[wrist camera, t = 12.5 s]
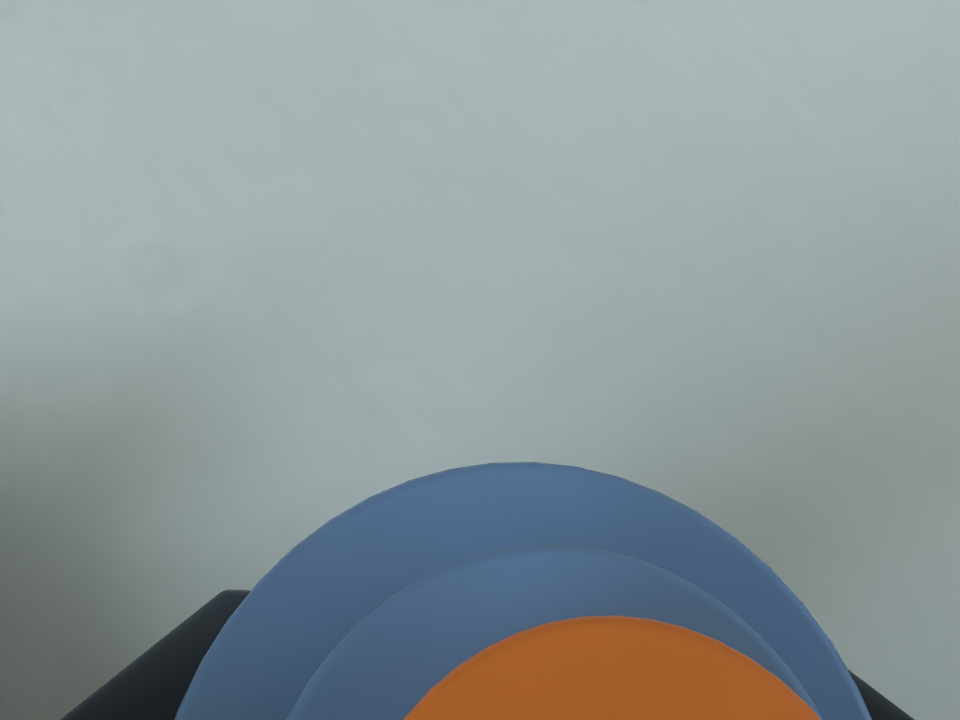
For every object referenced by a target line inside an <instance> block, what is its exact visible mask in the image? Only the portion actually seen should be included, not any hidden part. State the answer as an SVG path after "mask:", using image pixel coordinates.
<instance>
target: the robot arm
mask: <svg viewBox="0 0 960 720" xmlns="http://www.w3.org/2000/svg"><path fill="white" fill-rule="evenodd" d="M250 592H251V591H248V590H225V591H223V592H221V593H219V594H218V595H217V596H215V597H214V598H213V599H212V600H210V601H209V602H208V603H207V604H205V605H204V606H203V607H202V608H200V609H199V610H198V611H197V612H195V613H194V614H193V615H191V616H190V617H189V618H188V619H186V620H185V621H184V622H183V623H181V624H180V625H179V626H178V627H176V628H175V629H174V630H173V631H171V632H170V633H169V634H168V635H166V636H165V637H164V638H163V639H161V640H160V641H159V642H158V643H156V644H155V645H154V646H153V647H151V648H150V649H149V650H147V651H146V652H145V653H144V654H142V655H141V656H140V657H139V658H137V659H136V660H135V661H134V662H132V663H131V664H130V665H129V666H127V667H126V668H125V669H124V670H122V671H121V672H120V673H119V674H117V675H116V676H115V677H114V678H112V679H111V680H110V681H109V682H107V683H106V684H105V685H103V686H102V687H101V688H100V689H98V690H97V691H96V692H95V693H93V694H92V695H91V696H90V697H88V698H87V699H86V700H85V701H83V702H82V703H81V704H80V705H78V706H77V707H76V708H75V709H73V710H72V711H71V712H70V713H68V714H67V715H66V716H64V717H63V718H62V719H61V720H174V719H175V716H176V713H177V711H178V708H179V706H180V704H181V702H182V700H183V698H184V696H185V694H186V692H187V690H188V688H189V686H190V684H191V681H192V679H193V677H194V675H195V673H196V671H197V669H198V667H199V665H200V663H201V661H202V660H203V658H204V656H205V655H206V653H207V652H208V650H209V649H210V647H211V645H212V644H213V642H214V641H215V639H216V638H217V636H218V634H219V633H220V631H221V630H222V628H223V627H224V625H225V623H226V622H227V620H228V619H229V618H230V616H231V615H232V614H233V613H234V611H235V610H236V609H237V608H238V606H239V605H240V604H241V603H242V602H243V600H244V599H245V598H246V597H247V595H248V594H249V593H250ZM847 670H848V669H847ZM848 672H849V673H850V675H851V677H852V679H853V680H854V682H855V684H856V685H857V687H858V689H859V692H860V694H861V696H862V698H863V701H864V703H865V705H866V707H867V710H868V712H869V714H870V716H871V719H872V720H914V719H913V718H911V717H910V716H909V715H907V714H906V713H905V712H904V711H902V710H901V709H900V708H898V707H897V706H896V705H894V704H893V703H892V702H890V701H889V700H888V699H886V698H885V697H884V696H882V695H881V694H880V693H878V692H877V691H876V690H874V689H873V688H872V687H871V686H869V685H868V684H867V683H865V682H864V681H863V680H861V679H860V678H859V677H857V676H856V675H855V674H853V673H852V672H851V671H849V670H848Z"/></svg>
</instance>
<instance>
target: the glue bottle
mask: <svg viewBox="0 0 960 720" xmlns="http://www.w3.org/2000/svg"><path fill="white" fill-rule="evenodd" d="M174 720H872V719H871V716H870V714H869V712H868V710H867V707H866V705H865V703H864V701H863V698H862V696H861V694H860V692H859V689H858V687H857V685H856V684H855V682H854V680H853V679H852V677H851V675H850V673H849V672H848V670H847V668H846V666H845V665H844V663H843V661H842V660H841V658H840V656H839V654H838V653H837V651H836V649H835V647H834V646H833V644H832V643H831V641H830V640H829V638H828V637H827V636H826V634H825V633H824V632H823V630H822V629H821V628H820V626H819V625H818V623H817V622H816V621H815V619H814V618H813V617H812V615H811V614H810V613H809V611H808V610H807V609H806V607H805V606H804V604H803V603H802V602H801V601H800V600H799V599H798V598H797V597H796V596H795V595H794V593H793V592H792V591H791V590H790V589H789V588H788V587H787V586H786V585H785V584H784V583H783V582H782V580H781V579H780V578H779V577H778V576H777V575H776V574H775V573H774V572H773V571H772V570H771V569H770V568H769V567H768V566H767V565H766V564H765V563H764V562H763V561H761V560H760V559H759V558H758V557H757V556H756V555H754V554H753V553H752V552H751V551H750V550H749V549H748V548H746V547H745V546H744V545H743V544H742V543H741V542H739V541H738V540H737V539H736V538H735V537H733V536H732V535H730V534H729V533H727V532H726V531H725V530H723V529H722V528H720V527H719V526H717V525H716V524H714V523H713V522H711V521H710V520H708V519H707V518H705V517H704V516H702V515H701V514H700V513H698V512H696V511H694V510H692V509H691V508H689V507H687V506H685V505H683V504H681V503H679V502H677V501H675V500H673V499H671V498H669V497H667V496H666V495H664V494H662V493H660V492H658V491H655V490H652V489H650V488H647V487H644V486H641V485H639V484H636V483H633V482H631V481H628V480H625V479H623V478H620V477H617V476H613V475H609V474H605V473H600V472H596V471H592V470H588V469H584V468H579V467H574V466H564V465H555V464H546V463H537V462H520V463H489V464H482V465H475V466H468V467H461V468H455V469H449V470H446V471H442V472H438V473H435V474H431V475H428V476H424V477H420V478H417V479H413V480H410V481H407V482H405V483H403V484H400V485H398V486H395V487H393V488H391V489H388V490H386V491H383V492H381V493H379V494H376V495H374V496H372V497H369V498H367V499H366V500H364V501H362V502H361V503H359V504H357V505H355V506H354V507H352V508H350V509H348V510H347V511H345V512H343V513H341V514H340V515H338V516H336V517H335V518H333V519H331V520H330V521H328V522H327V523H326V524H324V525H323V526H322V527H320V528H319V529H318V530H316V531H315V532H314V533H312V534H311V535H310V536H308V537H307V538H306V539H304V540H303V541H302V542H300V543H299V544H298V545H297V546H295V547H294V548H293V549H292V550H291V551H290V552H289V553H288V554H287V555H286V556H285V557H283V558H282V559H281V560H280V561H279V562H278V563H277V564H276V565H275V566H274V567H273V568H272V569H271V570H270V571H269V572H268V573H267V574H266V575H265V576H264V577H263V578H262V579H261V580H260V581H259V582H258V583H257V584H256V586H255V587H254V588H253V589H252V590H251V592H250V593H249V594H248V595H247V597H246V598H245V599H244V600H243V602H242V603H241V604H240V605H239V606H238V608H237V609H236V610H235V611H234V613H233V614H232V615H231V616H230V618H229V619H228V620H227V622H226V623H225V625H224V627H223V628H222V630H221V631H220V633H219V634H218V636H217V638H216V639H215V641H214V642H213V644H212V645H211V647H210V649H209V650H208V652H207V653H206V655H205V656H204V658H203V660H202V661H201V663H200V665H199V667H198V669H197V671H196V673H195V675H194V677H193V679H192V681H191V684H190V686H189V688H188V690H187V692H186V694H185V696H184V698H183V700H182V702H181V704H180V706H179V708H178V711H177V713H176V716H175V719H174Z"/></svg>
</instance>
